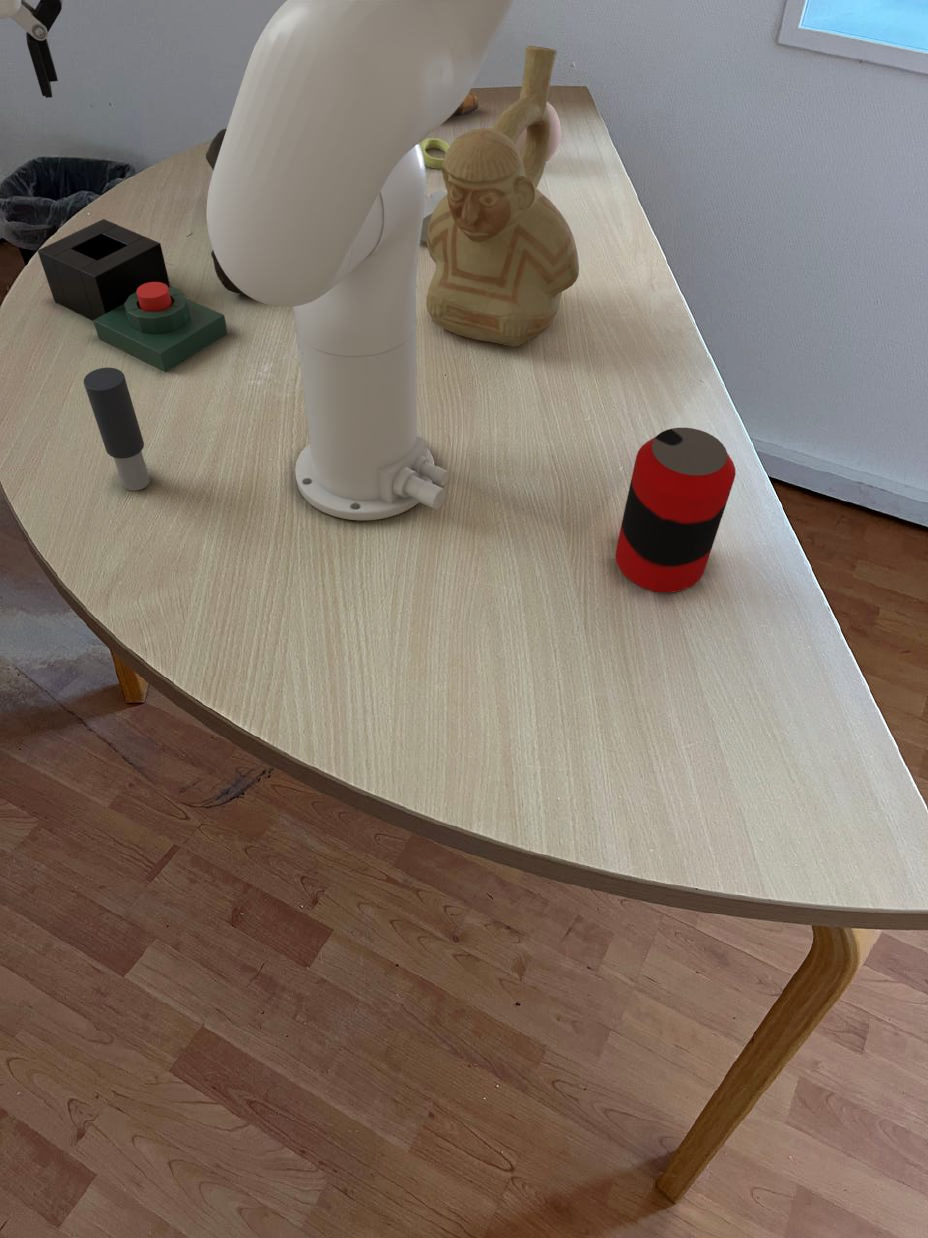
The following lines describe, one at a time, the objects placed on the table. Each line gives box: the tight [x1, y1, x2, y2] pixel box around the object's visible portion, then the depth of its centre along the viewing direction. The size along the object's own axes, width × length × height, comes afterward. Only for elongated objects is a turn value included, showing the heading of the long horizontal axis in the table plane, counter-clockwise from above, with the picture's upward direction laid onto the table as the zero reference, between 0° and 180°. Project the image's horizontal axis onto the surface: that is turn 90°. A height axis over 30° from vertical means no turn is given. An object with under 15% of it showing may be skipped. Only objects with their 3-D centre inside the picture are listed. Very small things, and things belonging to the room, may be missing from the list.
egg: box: [515, 101, 562, 162], centre depth 126 cm, size 7×7×8 cm
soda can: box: [614, 427, 736, 593], centre depth 74 cm, size 8×8×12 cm
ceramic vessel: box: [425, 45, 580, 348], centre depth 94 cm, size 17×20×25 cm
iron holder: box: [37, 218, 171, 322], centre depth 101 cm, size 9×9×6 cm
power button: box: [136, 282, 172, 312], centre depth 95 cm, size 3×3×2 cm
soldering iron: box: [83, 367, 151, 492], centre depth 79 cm, size 3×3×11 cm
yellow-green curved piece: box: [419, 137, 451, 170], centre depth 128 cm, size 7×12×2 cm, turn 113°
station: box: [93, 286, 228, 372], centre depth 97 cm, size 10×9×4 cm
